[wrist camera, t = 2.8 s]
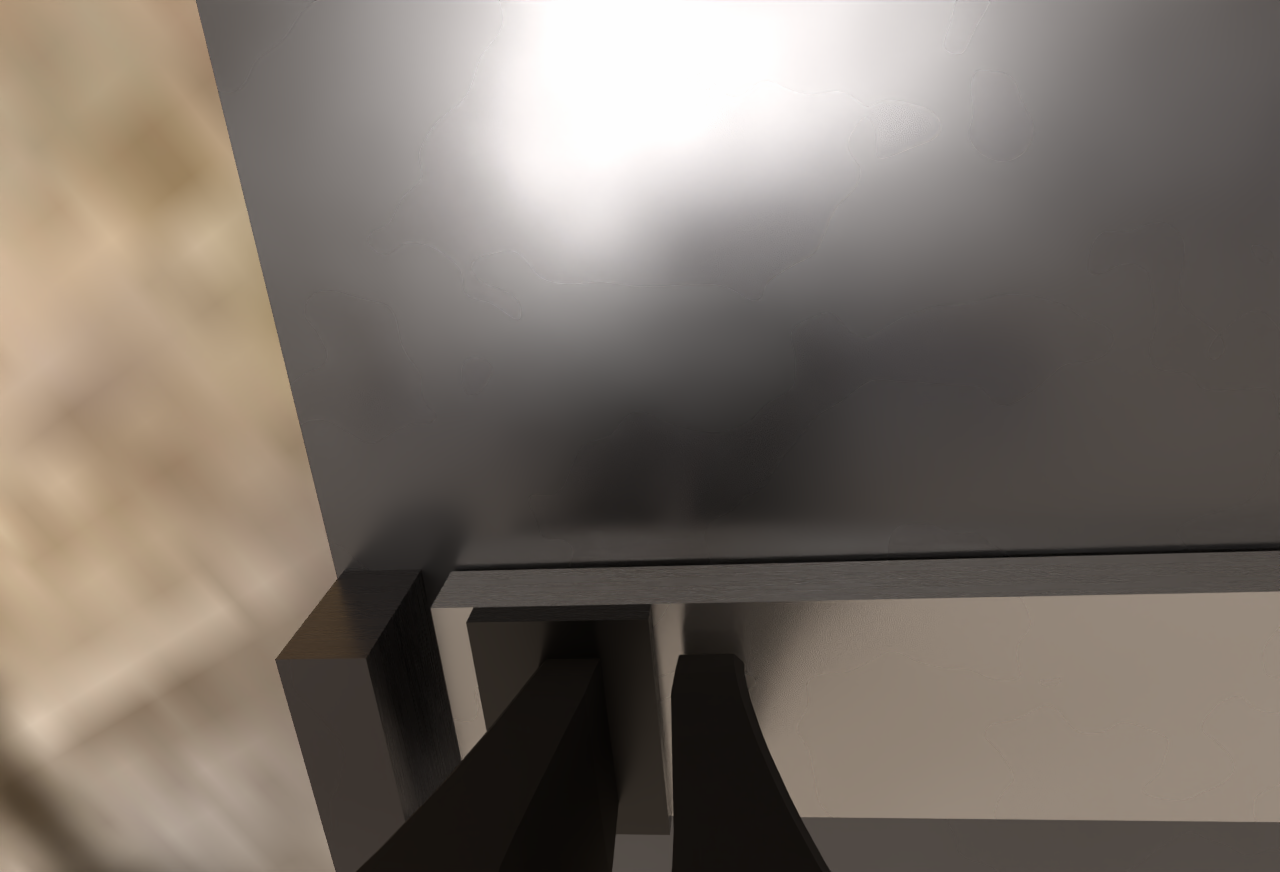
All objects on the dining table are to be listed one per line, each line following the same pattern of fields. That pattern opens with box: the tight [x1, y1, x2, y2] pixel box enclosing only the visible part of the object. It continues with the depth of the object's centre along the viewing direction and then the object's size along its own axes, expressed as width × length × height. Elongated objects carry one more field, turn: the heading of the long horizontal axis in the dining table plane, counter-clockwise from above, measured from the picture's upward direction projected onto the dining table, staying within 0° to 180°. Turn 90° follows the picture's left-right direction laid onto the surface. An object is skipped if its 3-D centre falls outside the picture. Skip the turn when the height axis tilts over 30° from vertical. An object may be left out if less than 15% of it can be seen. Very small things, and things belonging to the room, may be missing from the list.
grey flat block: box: [196, 0, 1280, 872], centre depth 9 cm, size 15×23×5 cm, turn 5°
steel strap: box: [431, 551, 1280, 835], centre depth 10 cm, size 12×3×1 cm, turn 95°
